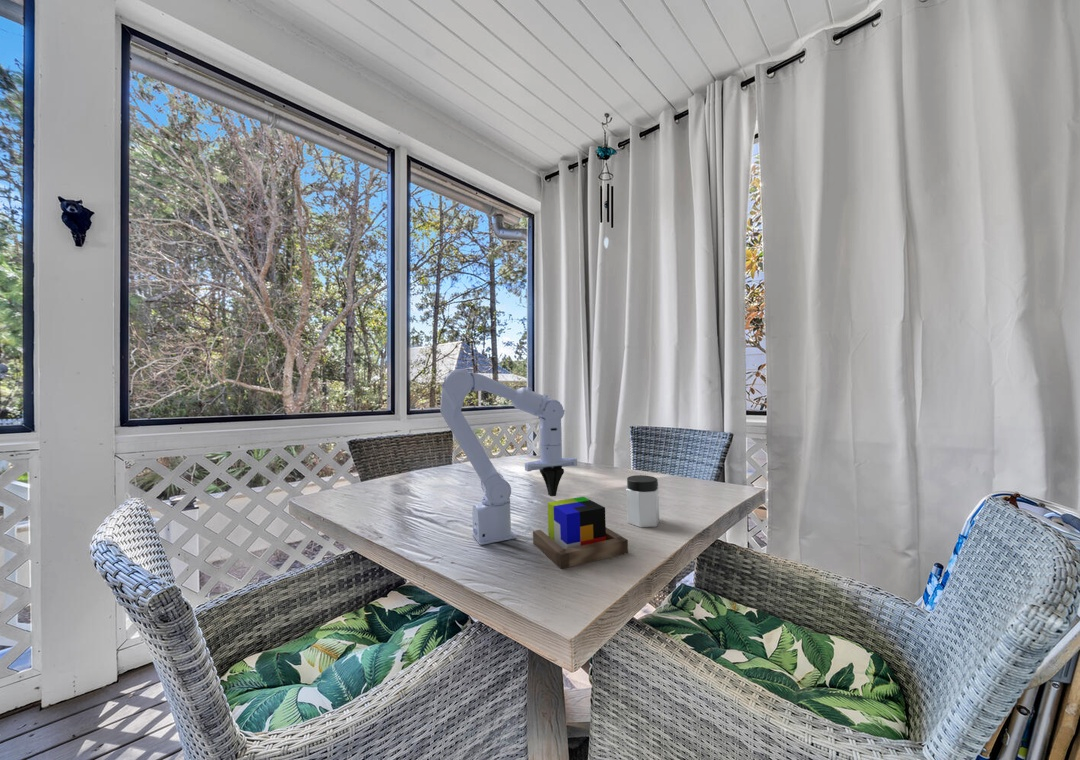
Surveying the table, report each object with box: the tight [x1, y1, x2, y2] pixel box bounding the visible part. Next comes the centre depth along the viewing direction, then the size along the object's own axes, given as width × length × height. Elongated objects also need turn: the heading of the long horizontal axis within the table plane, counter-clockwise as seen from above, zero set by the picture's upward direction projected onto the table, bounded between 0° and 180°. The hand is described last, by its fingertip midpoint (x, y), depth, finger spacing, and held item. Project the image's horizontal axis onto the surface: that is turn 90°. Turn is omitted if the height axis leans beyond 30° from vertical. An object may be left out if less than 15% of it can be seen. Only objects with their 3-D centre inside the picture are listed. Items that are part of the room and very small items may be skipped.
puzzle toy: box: [547, 496, 607, 549], centre depth 97 cm, size 10×10×10 cm
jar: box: [625, 474, 660, 528], centre depth 112 cm, size 9×8×12 cm
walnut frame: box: [532, 527, 629, 570], centre depth 96 cm, size 17×15×3 cm
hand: (552, 495), depth 109 cm, fingers closed
